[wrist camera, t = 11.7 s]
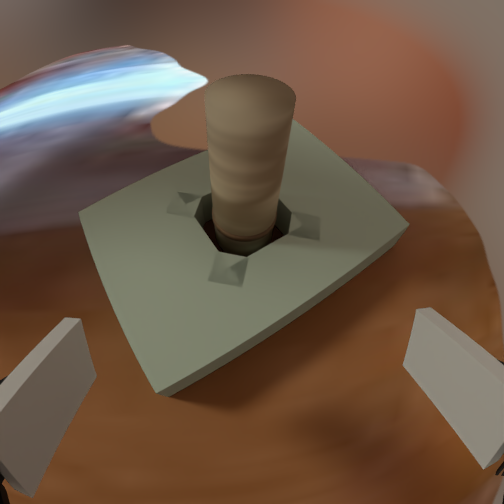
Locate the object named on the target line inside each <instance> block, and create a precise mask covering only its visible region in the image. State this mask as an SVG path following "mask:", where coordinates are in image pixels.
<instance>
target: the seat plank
mask: <svg viewBox="0 0 504 504" xmlns="http://www.w3.org/2000/svg"><path fill="white" fill-rule="evenodd" d="M212 207H213V205H212V193H211V181H210V169H209V155H208V150H206V151H204V152H201V153H199V154H196V155H194V156H192V157H189V158H187V159H185V160H182V161H180V162H178V163H175V164H173V165H171V166H169V167H166V168H164V169H162V170H160V171H158V172H156V173H153V174H151V175H149V176H147V177H145V178H143V179H141V180H139V181H137V182H135V183H133V184H131V185H129V186H127V187H125V188H123V189H121V190H119V191H117V192H115V193H113V194H111V195H109V196H107V197H105V198H103V199H101V200H100V201H98V202H96V203H94V204H92V205H90V206H89V207H87V208H85V209H83V210H81V211H80V212H78V214H79V218H80V221H81V224H82V227H83V230H84V233H85V236H86V239H87V242H88V245H89V248H90V251H91V254H92V257H93V259H94V262H95V265H96V267H97V270H98V273H99V275H100V278H101V280H102V283H103V285H104V288H105V290H106V293H107V295H108V298H109V300H110V302H111V305H112V307H113V309H114V312H115V314H116V316H117V318H118V320H119V323H120V325H121V327H122V329H123V331H124V333H125V335H126V338H127V340H128V342H129V344H130V346H131V348H132V350H133V352H134V354H135V356H136V358H137V360H138V361H139V363H140V365H141V367H142V369H143V371H144V373H145V375H146V376H147V378H148V380H149V382H150V384H151V385H152V387H153V389H154V391H155V392H156V394H160V395H163V396H167V397H169V396H171V395H173V394H175V393H177V392H178V391H180V390H182V389H184V388H186V387H187V386H189V385H191V384H193V383H194V382H196V381H198V380H200V379H201V378H203V377H205V376H206V375H208V374H210V373H212V372H213V371H215V370H217V369H218V368H220V367H222V366H223V365H225V364H227V363H228V362H230V361H231V360H233V359H235V358H236V357H238V356H240V355H241V354H243V353H244V352H246V351H248V350H249V349H251V348H252V347H254V346H255V345H257V344H259V343H260V342H262V341H263V340H265V339H266V338H268V337H269V336H271V335H272V334H274V333H275V332H277V331H278V330H280V329H281V328H283V327H284V326H286V325H287V324H289V323H290V322H292V321H293V320H295V319H296V318H298V317H299V316H301V315H302V314H303V313H305V312H306V311H308V310H309V309H311V308H312V307H313V306H315V305H316V304H318V303H319V302H321V301H322V300H323V299H325V298H326V297H327V296H329V295H330V294H332V293H333V292H334V291H336V290H337V289H338V288H340V287H341V286H343V285H344V284H345V283H347V282H348V281H349V280H351V279H352V278H353V277H355V276H356V275H357V274H359V273H360V272H361V271H362V270H364V269H365V268H366V267H368V266H369V265H370V264H372V263H373V262H374V261H375V260H377V259H378V258H379V257H380V256H382V255H383V254H384V253H385V252H387V251H388V250H389V249H390V248H392V247H393V246H394V245H395V244H396V242H397V241H398V240H399V238H400V237H401V236H402V234H403V233H404V232H405V230H406V229H407V227H408V226H409V225H410V224H409V223H408V222H407V221H406V220H405V219H404V218H403V217H402V216H401V215H400V214H399V213H398V212H397V211H396V210H395V209H394V208H393V207H392V206H391V205H390V204H389V203H388V202H387V201H386V200H385V199H384V198H383V197H382V196H381V195H380V194H379V193H378V192H377V191H376V190H375V189H374V188H373V187H372V186H371V185H370V184H369V183H368V182H367V181H366V180H365V179H364V178H362V177H361V176H360V175H359V174H358V173H357V172H356V171H355V170H354V169H353V168H351V167H350V166H349V165H348V164H347V163H346V162H345V161H344V160H342V159H341V158H340V157H339V156H338V155H337V154H335V153H334V152H333V151H332V150H331V149H330V148H328V147H327V146H326V145H325V144H324V143H322V142H321V141H320V140H319V139H318V138H316V137H315V136H314V135H313V134H311V133H310V132H309V131H308V130H306V129H305V128H304V127H303V126H301V125H300V124H299V123H297V122H296V121H295V120H294V119H292V125H291V131H290V137H289V143H288V149H287V154H286V160H285V166H284V172H283V177H282V183H281V188H280V194H279V200H278V205H277V218H276V222H275V225H276V227H277V228H278V229H279V230H280V231H281V232H282V234H283V235H284V236H283V237H281V238H280V239H278V240H276V241H274V242H273V243H271V244H269V245H267V246H265V247H264V248H262V249H260V250H258V251H257V252H255V253H253V254H251V255H249V256H248V257H244V256H239V255H234V254H228V253H223V252H219V251H218V250H217V249H216V247H215V246H214V244H213V243H212V241H211V240H210V239H209V237H208V236H207V234H206V233H205V231H204V230H203V227H204V224H205V222H207V221H209V220H211V219H212Z"/></svg>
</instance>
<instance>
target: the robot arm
mask: <svg viewBox="0 0 504 504" xmlns="http://www.w3.org/2000/svg"><path fill="white" fill-rule="evenodd" d="M403 366H404V367H405V369H406V370H407V371H408V372H409V374H410V375H411V376H412V377H413V378H414V380H415V381H416V382H417V383H418V385H419V386H420V387H421V388H422V390H423V391H424V392H425V393H426V395H427V396H428V397H429V398H430V400H431V401H432V402H433V403H434V405H435V406H436V407H437V409H438V410H439V411H440V412H441V414H442V415H443V416H444V417H445V419H446V420H447V421H448V423H449V424H450V425H451V427H452V428H453V429H454V430H455V432H456V433H457V434H458V436H459V437H460V438H461V440H462V441H463V442H464V444H465V445H466V446H467V448H468V449H469V450H470V452H471V453H472V455H473V456H474V457H475V459H476V460H477V461H478V463H479V464H480V465H481V467H482V468H483V470H484V469H485V468H487V467H489V466H490V465H492V464H493V463H495V462H496V461H498V460H499V459H500V457H501V456H502V455H503V453H504V363H503V362H502V361H500V360H498V359H496V358H494V357H493V356H492V355H491V354H489V353H488V352H487V351H486V350H485V349H483V348H482V347H481V346H480V345H478V344H477V343H476V342H475V341H473V340H472V339H471V338H470V337H468V336H467V335H466V334H465V333H463V332H462V331H461V330H459V329H458V328H457V327H456V326H454V325H453V324H452V323H450V322H449V321H448V320H447V319H445V318H444V317H443V316H441V315H440V314H439V313H437V312H436V311H435V310H433V309H432V308H431V307H430V308H422V309H416V314H415V319H414V323H413V328H412V332H411V336H410V340H409V344H408V348H407V352H406V355H405V359H404V363H403ZM96 377H97V375H96V372H95V369H94V366H93V363H92V359H91V356H90V352H89V349H88V345H87V341H86V338H85V334H84V330H83V326H82V321H81V319H78V318H66V317H65V318H64V319H63V320H62V321H61V322H60V323H59V324H58V325H57V326H56V327H55V328H54V329H53V330H52V331H51V332H50V333H49V334H48V335H47V336H46V337H45V338H44V339H43V340H42V341H41V342H40V343H39V344H38V345H37V346H36V347H35V348H34V349H33V350H32V351H31V352H30V353H29V354H28V355H27V356H26V357H25V358H24V359H23V361H22V362H21V363H20V364H19V365H18V366H17V367H16V368H15V369H14V370H13V371H12V372H11V373H10V375H9V376H7V377H5V378H3V379H2V380H0V504H10V503H9V499H8V495H7V492H6V489H5V487H4V486H3V485H2V482H3V480H4V478H5V479H6V480H7V482H8V483H9V484H10V485H11V486H12V487H13V488H14V489H15V490H17V491H19V492H21V493H23V494H25V495H27V496H30V497H32V498H33V497H34V494H35V492H36V490H37V488H38V486H39V484H40V481H41V479H42V477H43V475H44V473H45V471H46V469H47V467H48V465H49V463H50V461H51V459H52V457H53V455H54V453H55V451H56V449H57V447H58V445H59V443H60V441H61V440H62V438H63V436H64V434H65V432H66V430H67V428H68V426H69V425H70V423H71V421H72V419H73V417H74V415H75V414H76V412H77V410H78V408H79V407H80V405H81V403H82V401H83V399H84V398H85V396H86V394H87V392H88V391H89V389H90V387H91V386H92V384H93V382H94V380H95V379H96ZM503 468H504V462H503V463H502V464H501V466H500V467H499V468H498V469H497V471H496V474H495V475H498V474H499V473H500V472H501V471H502V470H503ZM501 476H504V472H503V473H502V475H501ZM503 504H504V496H503Z"/></svg>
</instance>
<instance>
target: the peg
mask: <svg viewBox="0 0 504 504" xmlns="http://www.w3.org/2000/svg"><path fill="white" fill-rule="evenodd" d="M295 101H296V95H295V93H294V91H293V90H292V89H291V88H290V87H289V86H288V85H286V84H285V83H283V82H281V81H279V80H277V79H274V78H271V77H267V76H262V75H253V74H241V75H233V76H228V77H225V78H221V79H219V80H217V81H215V82H213V83H212V84H210V85H209V86H208V88H207V89H206V91H205V110H206V126H207V141H208V155H209V169H210V181H211V193H212V205H213V207H212V219H213V223H214V227H215V237H216V240H217V242H218V244H219V246H220V247H221V248H222V249H223V251H224V252H225V253H228V254H234V255H239V256H244V257H248V256H249V255H251V254H253V253H255V252H257V251H258V250H260V249H262V248H264V247H265V246H267V245H269V243H270V241H271V238H272V232H273V227H274V225H275V222H276V218H277V205H278V200H279V194H280V188H281V183H282V177H283V172H284V166H285V160H286V154H287V149H288V143H289V137H290V131H291V125H292V119H293V113H294V107H295Z"/></svg>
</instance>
